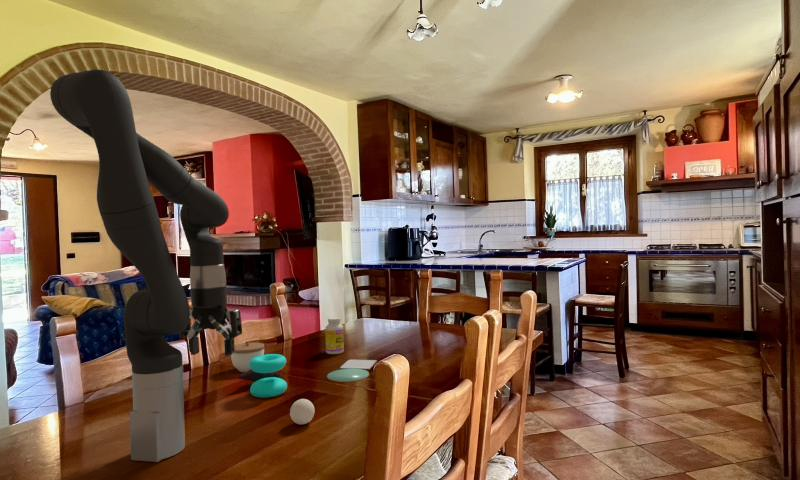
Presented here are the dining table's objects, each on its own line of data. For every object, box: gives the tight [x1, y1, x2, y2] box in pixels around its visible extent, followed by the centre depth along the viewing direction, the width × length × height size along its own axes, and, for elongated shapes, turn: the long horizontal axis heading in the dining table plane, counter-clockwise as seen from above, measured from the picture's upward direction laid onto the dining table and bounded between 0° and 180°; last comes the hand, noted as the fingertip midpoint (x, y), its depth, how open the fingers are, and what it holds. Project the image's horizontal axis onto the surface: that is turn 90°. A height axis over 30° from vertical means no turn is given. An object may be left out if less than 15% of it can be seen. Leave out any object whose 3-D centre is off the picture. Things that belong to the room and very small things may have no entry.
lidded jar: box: [230, 340, 265, 373], centre depth 153 cm, size 11×11×9 cm
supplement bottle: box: [324, 316, 345, 355], centre depth 173 cm, size 7×7×13 cm
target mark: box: [326, 368, 370, 383], centre depth 144 cm, size 13×13×1 cm
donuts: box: [249, 353, 288, 399], centre depth 129 cm, size 10×10×10 cm
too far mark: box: [339, 359, 378, 370], centre depth 156 cm, size 10×10×1 cm
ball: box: [289, 398, 316, 425], centre depth 107 cm, size 6×6×6 cm
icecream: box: [237, 369, 281, 383], centre depth 138 cm, size 7×7×15 cm
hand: (212, 354), depth 106 cm, fingers open, 8 cm apart
